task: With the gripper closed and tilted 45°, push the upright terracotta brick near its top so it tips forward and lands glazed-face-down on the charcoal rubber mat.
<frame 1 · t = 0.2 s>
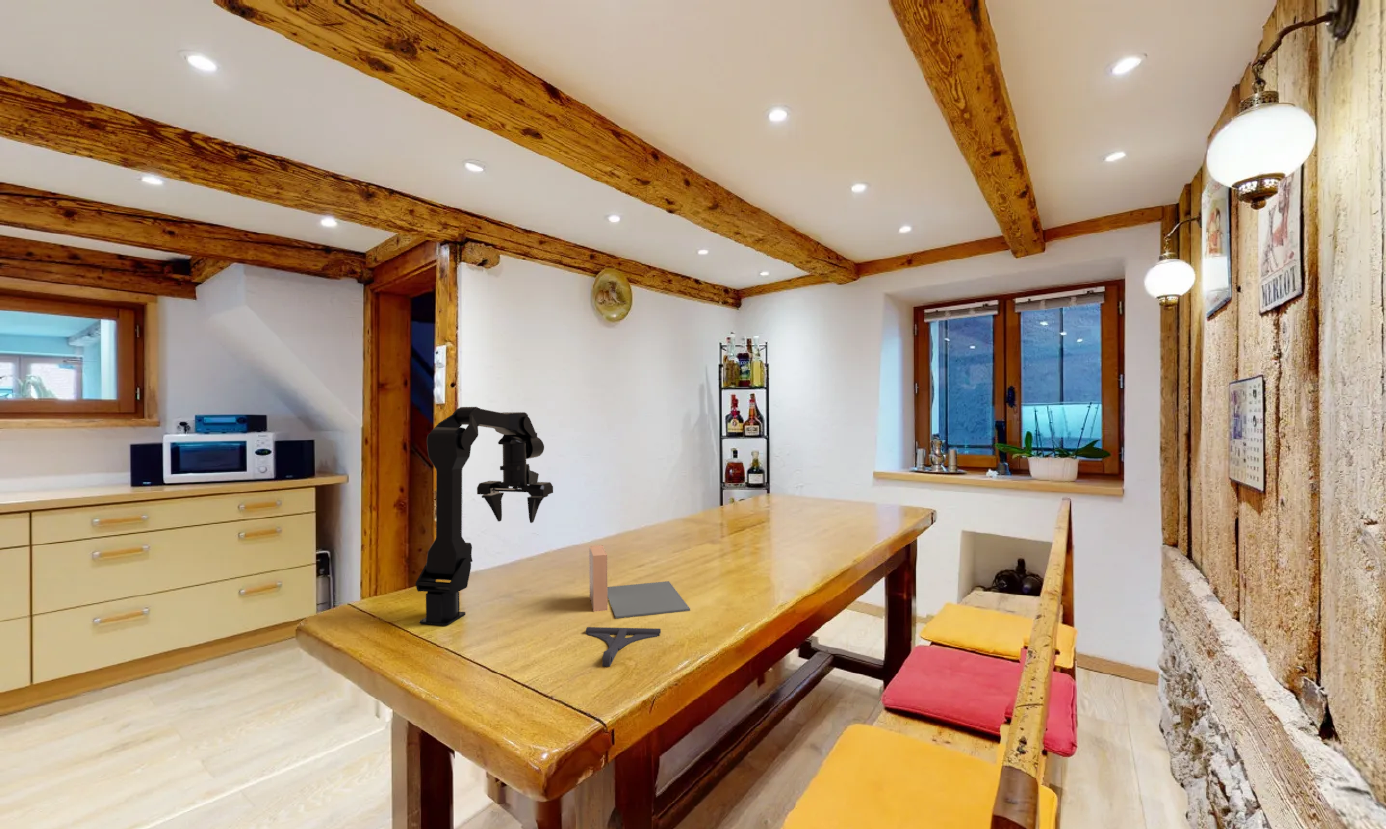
hand: (515, 521, 142), 15 cm above the table, tool pointing down, fingers open, 9 cm apart
brick: (598, 604, 124), on the table
mat: (644, 599, 127), on the table
bracket: (615, 652, 101), on the table
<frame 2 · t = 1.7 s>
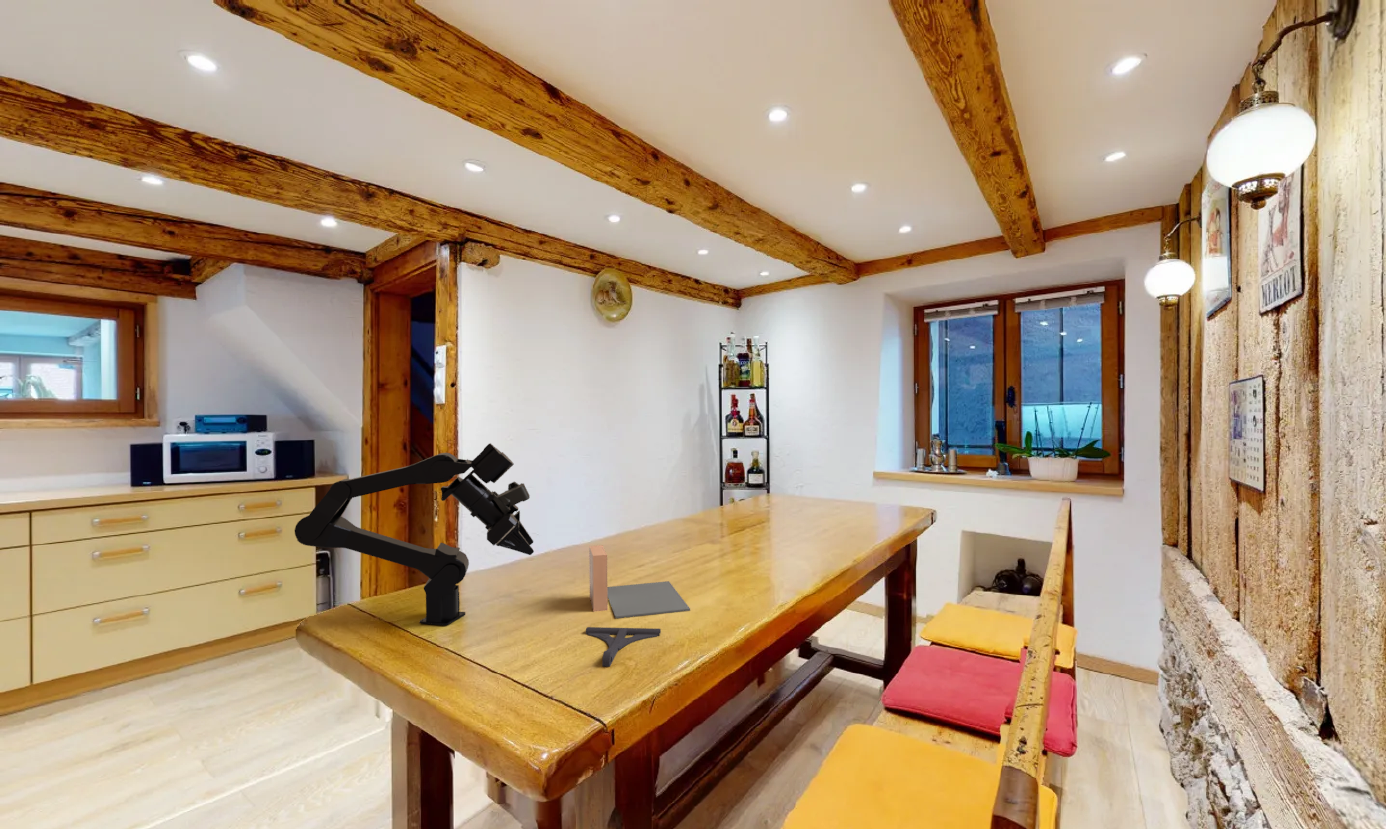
hand: (532, 548, 120), 13 cm above the table, tool tilted 45°, fingers open, 9 cm apart
nothing on the table moved.
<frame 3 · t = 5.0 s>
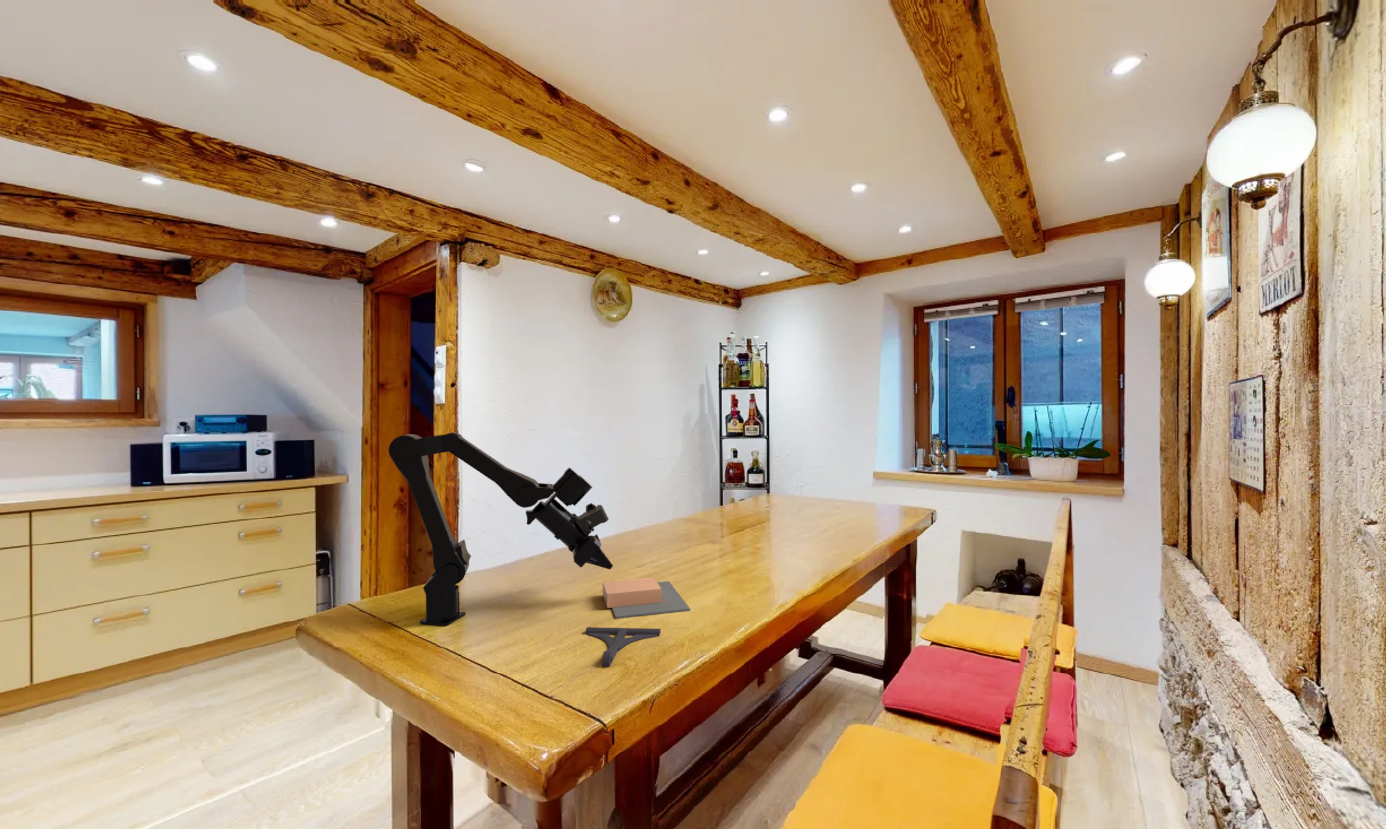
hand: (611, 567, 124), 8 cm above the table, tool tilted 45°, fingers closed
brick: (604, 594, 124), point 2 cm above the table, tilted 90°, touching mat
everything else where it was.
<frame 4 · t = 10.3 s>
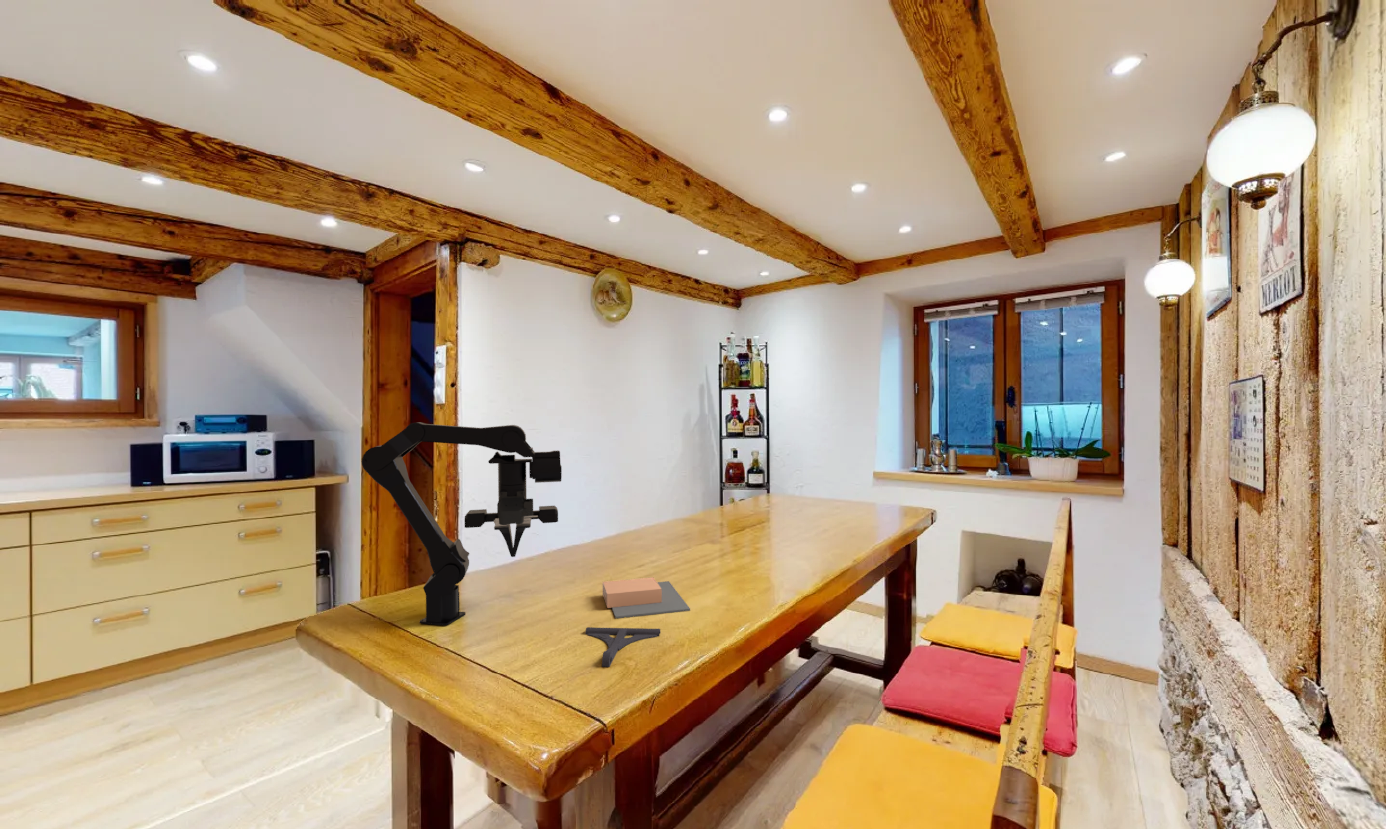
hand: (513, 556, 119), 12 cm above the table, tool pointing down, fingers closed
nothing on the table moved.
at the end: brick tilted 90°; brick touching mat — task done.
